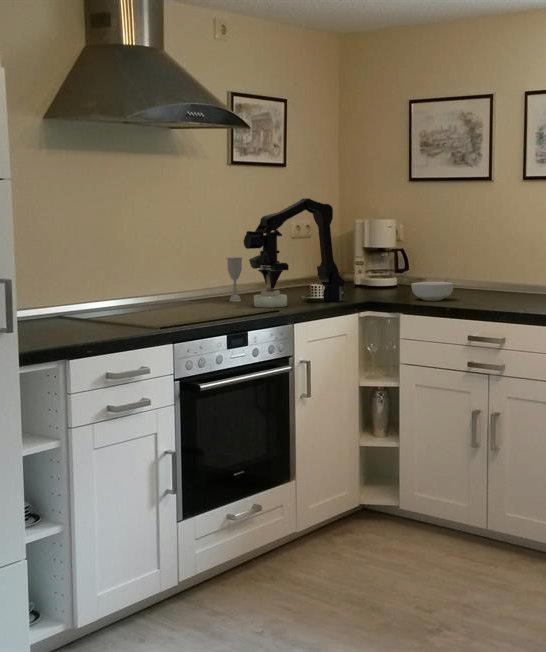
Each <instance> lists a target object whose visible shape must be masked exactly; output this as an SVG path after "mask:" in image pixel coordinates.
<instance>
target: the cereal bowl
mask: <svg viewBox="0 0 546 652" xmlns="http://www.w3.org/2000/svg"><path fill="white" fill-rule="evenodd" d="M453 289H454V283H453V282H449V281H448V282H447V281H421V282H413V283H411V291H412V293H413V295H415V296H416V297H418V298H420V299H421V300H422V301H430V302H432V301H434V302H436V301H442V300H443V299H444V298H447V297H448V296H451V294H452V293H453Z"/></svg>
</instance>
